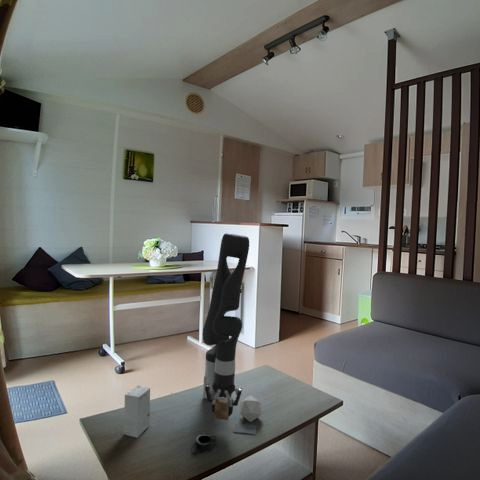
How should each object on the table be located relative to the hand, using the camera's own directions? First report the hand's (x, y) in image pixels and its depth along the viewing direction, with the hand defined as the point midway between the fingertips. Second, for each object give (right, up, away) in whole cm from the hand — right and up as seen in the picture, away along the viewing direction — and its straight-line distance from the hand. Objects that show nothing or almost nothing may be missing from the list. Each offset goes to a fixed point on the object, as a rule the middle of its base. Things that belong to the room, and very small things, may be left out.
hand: (222, 413), depth 129 cm
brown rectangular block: (0, -1, 0) cm, 1 cm away
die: (+11, -7, +10) cm, 17 cm away
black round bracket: (-6, -8, -8) cm, 13 cm away
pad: (+9, -7, +2) cm, 11 cm away
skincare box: (-31, -6, -1) cm, 32 cm away
